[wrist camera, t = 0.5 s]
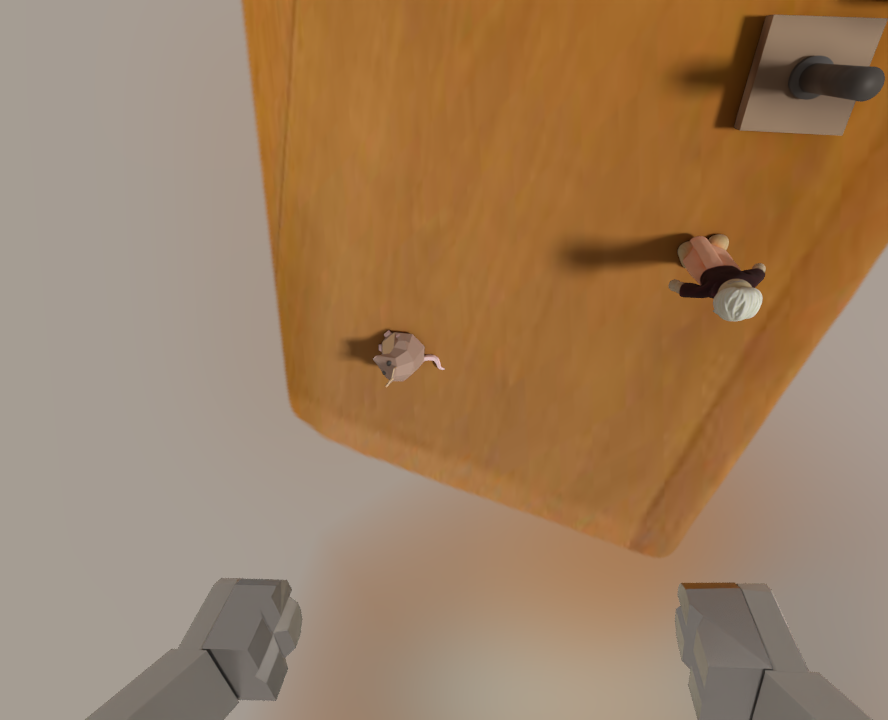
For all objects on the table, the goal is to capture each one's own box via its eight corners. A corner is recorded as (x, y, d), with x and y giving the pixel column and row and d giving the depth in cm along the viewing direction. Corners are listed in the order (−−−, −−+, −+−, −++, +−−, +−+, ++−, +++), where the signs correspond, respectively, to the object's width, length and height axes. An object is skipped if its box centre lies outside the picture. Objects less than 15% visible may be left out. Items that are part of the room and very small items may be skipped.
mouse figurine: (435, 385, 62) (427, 419, 57) (373, 356, 61) (358, 388, 56) (454, 351, 60) (448, 384, 54) (390, 321, 59) (376, 351, 53)
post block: (766, 15, 41) (826, 8, 33) (876, 19, 40) (966, 13, 32) (733, 127, 45) (780, 146, 37) (832, 132, 44) (902, 152, 36)
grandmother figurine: (735, 217, 49) (796, 266, 38) (743, 254, 50) (805, 311, 40) (650, 250, 51) (685, 305, 40) (660, 284, 53) (697, 346, 42)
